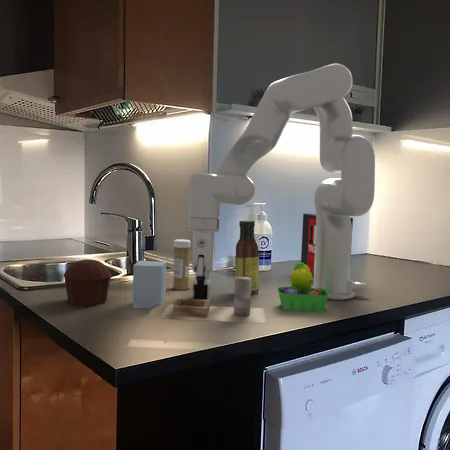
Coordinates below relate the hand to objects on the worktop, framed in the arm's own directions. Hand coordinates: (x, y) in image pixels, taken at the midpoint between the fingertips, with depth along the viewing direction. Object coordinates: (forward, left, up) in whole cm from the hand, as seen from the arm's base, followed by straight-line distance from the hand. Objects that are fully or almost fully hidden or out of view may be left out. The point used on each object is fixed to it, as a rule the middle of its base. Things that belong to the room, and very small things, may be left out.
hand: (201, 297), depth 125 cm
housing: (+12, +5, -1) cm, 13 cm away
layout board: (-4, +13, -1) cm, 14 cm away
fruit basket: (-24, +4, -1) cm, 24 cm away
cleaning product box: (-36, -40, -1) cm, 54 cm away
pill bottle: (0, 0, -1) cm, 1 cm away
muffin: (+27, +4, -1) cm, 27 cm away
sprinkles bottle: (+7, -15, -1) cm, 17 cm away
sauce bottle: (-11, -10, -1) cm, 15 cm away
